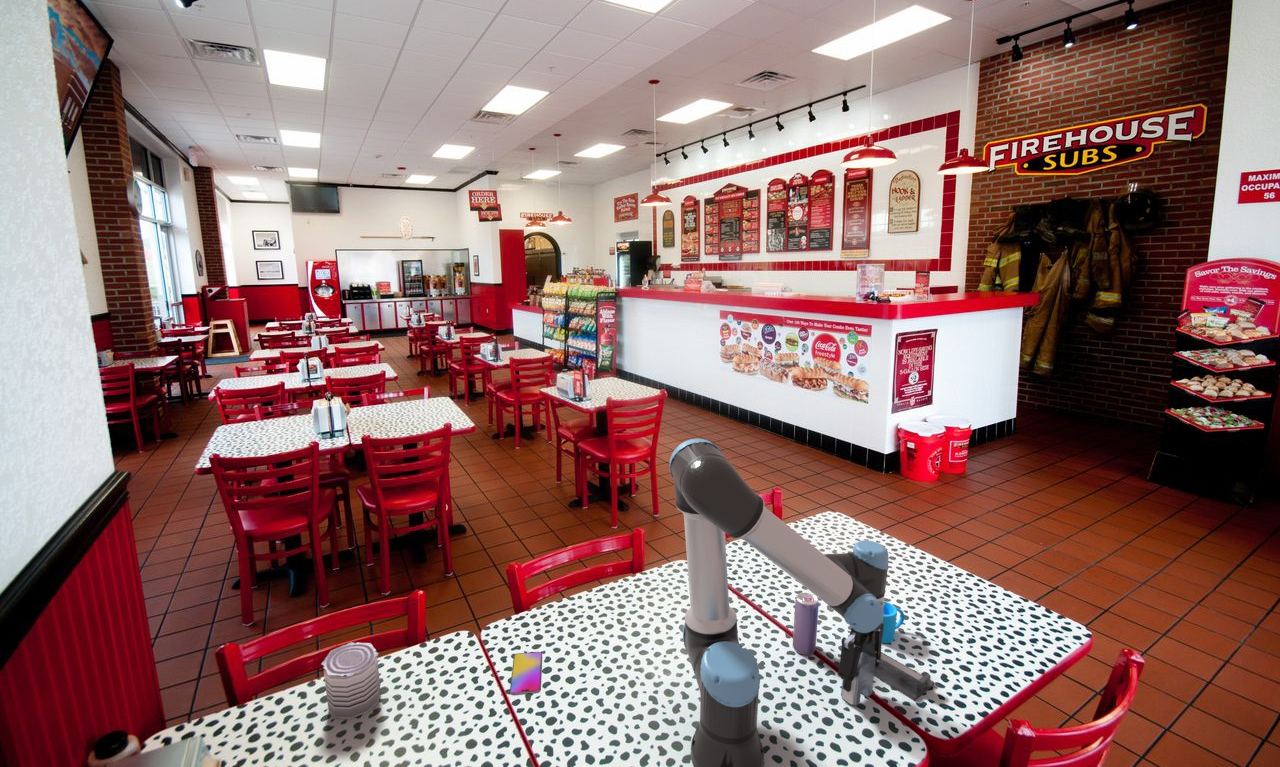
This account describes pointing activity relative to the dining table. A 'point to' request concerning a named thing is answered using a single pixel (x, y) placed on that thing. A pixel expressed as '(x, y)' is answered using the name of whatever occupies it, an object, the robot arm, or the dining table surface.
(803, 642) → the beverage can
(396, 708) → the dining table surface
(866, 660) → the stepped metal block
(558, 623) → the dining table surface
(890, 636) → the mug
